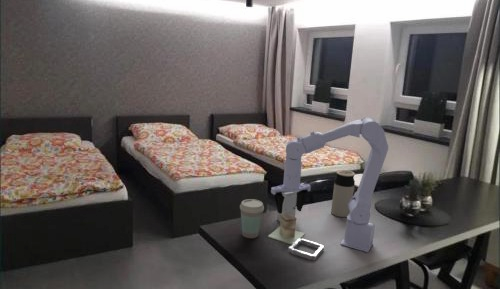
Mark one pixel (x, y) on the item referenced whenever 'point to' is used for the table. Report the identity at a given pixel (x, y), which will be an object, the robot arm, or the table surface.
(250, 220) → the coffee cup
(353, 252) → the table surface
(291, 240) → the pad
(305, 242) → the metal collar
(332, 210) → the travel mug
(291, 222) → the maple peg
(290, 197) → the skincare box
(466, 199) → the table surface
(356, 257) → the table surface
